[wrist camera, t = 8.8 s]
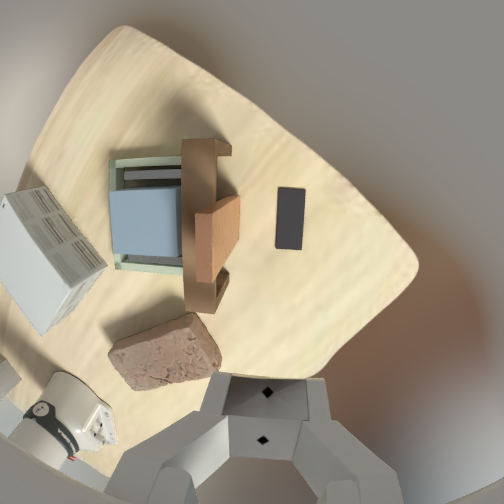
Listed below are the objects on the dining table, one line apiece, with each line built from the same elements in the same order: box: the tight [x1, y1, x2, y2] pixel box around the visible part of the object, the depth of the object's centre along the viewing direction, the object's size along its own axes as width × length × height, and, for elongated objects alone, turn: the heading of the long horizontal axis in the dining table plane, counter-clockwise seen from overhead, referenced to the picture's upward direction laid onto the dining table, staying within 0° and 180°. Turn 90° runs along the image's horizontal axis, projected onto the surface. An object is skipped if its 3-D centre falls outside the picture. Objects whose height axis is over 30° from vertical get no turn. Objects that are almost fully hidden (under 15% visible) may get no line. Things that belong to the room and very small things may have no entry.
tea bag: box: [0, 359, 22, 401], centre depth 46 cm, size 4×7×10 cm, turn 38°
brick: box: [108, 313, 222, 391], centre depth 38 cm, size 17×8×5 cm, turn 116°
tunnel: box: [181, 138, 232, 314], centre depth 30 cm, size 16×3×8 cm, turn 178°
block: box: [109, 186, 182, 257], centre depth 32 cm, size 7×8×6 cm
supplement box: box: [0, 186, 108, 337], centre depth 33 cm, size 17×13×9 cm
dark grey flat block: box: [276, 188, 306, 250], centre depth 33 cm, size 7×3×1 cm, turn 178°
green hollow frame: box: [109, 156, 183, 276], centre depth 33 cm, size 14×11×2 cm
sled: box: [124, 169, 240, 283], centre depth 27 cm, size 11×14×13 cm
